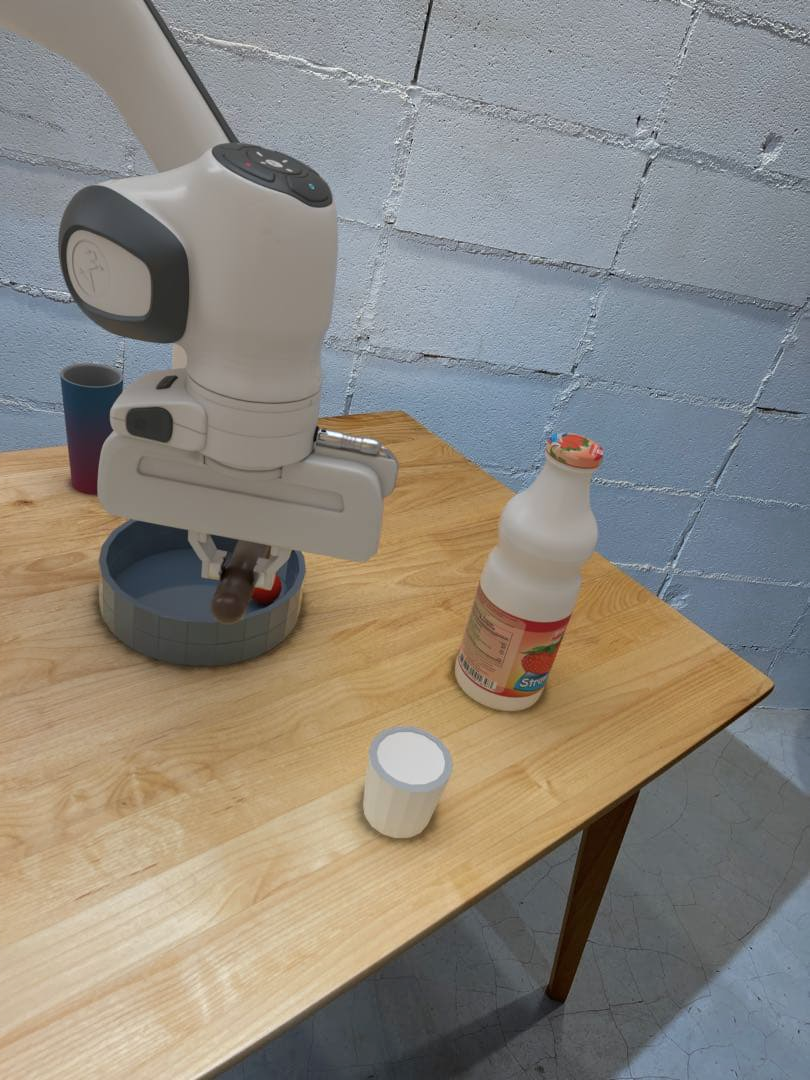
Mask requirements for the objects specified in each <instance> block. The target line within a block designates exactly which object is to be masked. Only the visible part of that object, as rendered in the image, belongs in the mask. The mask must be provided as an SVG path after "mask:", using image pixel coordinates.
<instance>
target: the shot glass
mask: <svg viewBox="0 0 810 1080" xmlns="http://www.w3.org/2000/svg"><path fill="white" fill-rule="evenodd" d="M453 766H454V761H453V759H452V755H451V751H450V749H449V748H448V747H447V746H446V745H445V744H444V742H443V741H442V740H441V738H439V737H437V736H436V735H434V734H432V733H431V732H430V731H428V730H425V729H422V728H419V727H417V726H416V727H415V726H412V725H396V726H393V727H389V728H387V729H384V730H382V731H380V732H379V733H378V734H377V735H376V736H375V737H374V738H373V739H372V741H371V743H370V746H369V749H368V755H367V763H366V773H365V781H364V792H363V801H362V807H363V813H364V817H365V819H366V820H367V822H368V823H369V825H370V826H371V827H372V828H373V829H375V830H376V831H377V832H379V833H380V834H382V835H384V836H387V837H390V838H394V839H410V838H412V837H415V836H417V835H420V834H421V833H422V832H423V830H424V829H425V828H426V827H427V826H428V825H429V822H430V821H431V819H432V816H433V814H434V812H435V810H436V808H437V806H438V803H439V801H441V800H440V799H441V798H442V795H443V793H444V791H445V789H446V786H447V784H448V783H449V780H450V779H451V776H452V771H453Z"/></svg>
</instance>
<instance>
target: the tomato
mask: <svg viewBox="0 0 810 1080" xmlns="http://www.w3.org/2000/svg"><path fill="white" fill-rule="evenodd" d="M281 590H282V584H281V580H280V578H279V577H278V576H277V575H275V580H274V583H273V586H272V589H271V590H266V589H261V588H257V587H255V589H254V591H253V594H252V597H251V598H252V599H253V600H254V601H256V602H258V603H262V604H267V603H271V602H273V601H275V600H276V599H277V598H278V597H279V595H280V593H281Z"/></svg>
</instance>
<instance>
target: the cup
mask: <svg viewBox="0 0 810 1080" xmlns="http://www.w3.org/2000/svg"><path fill="white" fill-rule="evenodd" d="M59 377H60V387H61V395H62V405H63V406H62V407H63V414H64V425H65V432H66V433H65V434H66V441H67V442H66V443H67V453H68V460H69V469H70V470H69V471H70V481H71V486H72V488H73V489H74V490H76V491H77V492H79V493H82V494H86V495H94V496H95V495H98V490H97V486H98V470H99V461H100V455H101V450H102V447H103V444H104V442H105V440H106V439H107V438H108V437H109V435H110V434H111V433H112V432H113V431H114V430H113V429H112V427H111V423H110V410H111V408H112V406H113V404H114V403H115V401H116V400H117V398H118V397H119V396H120V395H121V393H122V392H123V391H124V378H125V375H124V374H123V372H122V371H121V370H119V369H117V368H116V367H113V366H110V365H106V364H102V363H95V362H81V363H80V362H79V363H73V364H70V365H67V366H65V367H63V368H62V369H61V370H60V373H59Z"/></svg>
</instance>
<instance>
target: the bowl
mask: <svg viewBox="0 0 810 1080" xmlns="http://www.w3.org/2000/svg"><path fill="white" fill-rule="evenodd" d="M210 536H211V538H212V540H213V542H214V544H215V546H216V548H217V550H222V551H227V559H226V563H227V564H226V567H227V565H228V563H229V561H230V559H231V556H232V554H233V552H234V548H235V546H236V544H237V542H238V539H233V538H228V537H222V536H217V535H212V534H210ZM201 574H202V560H200V559H199V557H198V555H197V554H196V552H195V551H194V549H193V547H192V546H191V544H190V543H189V541H188V530H186V529H180V528H175V527H170V526H164V525H159V524H154V523H149V522H143V521H138V520H133V519H127V520H126V521H125V522H123V523H122V524H121V525H119V526H117V527H116V528H115V529H114V530H112V531H111V532H110V534H109V535H108V536H107V538H106V539H105V541H104V542H103V543H102V545H101V547H100V553H99V556H98V604H99V609H100V613H101V617H102V620H103V622H104V623H105V625H106V626H107V628H108V630H110V632H111V633H112V634H113V635H114V637H116V638H117V639H118V640H119V641H120V642H122V643H123V644H124V645H126V646H127V647H129V648H130V649H132V650H134V651H136V652H138V653H140V654H142V655H144V656H146V657H149V658H152V659H155V660H158V661H161V662H166V663H170V664H175V665H182V666H191V667H215V666H216V667H217V666H226V665H231V664H236V663H240V662H244V661H247V660H251V659H254V658H257V657H260V656H261V655H263V654H266V653H268V652H270V651H271V650H272V649H275V648H276V647H277V646H279V645H280V644H281V643H283V642H284V640H286V638H288V636H289V635H290V634H291V632H292V631H293V630H294V628H295V627H296V624H297V623H298V620H299V619H298V618H299V616H300V614H301V613H300V612H301V607H302V602H303V601H302V600H303V594H304V589H305V582H306V574H307V568H306V561H305V555H304V554H303V552H302V551H296V550H292V551H291V554H290V557H289V559H288V560H287V561H286V562H285V563H284V564H283V565H282V566H281V567H280V568H279V569H278V570H277V571H276V575H277V576H278V577H279V578H280V580H281V584H282V590H281V593H280V595H279V597H278V598H277V599H276V600H275V601H273V602H271V603H267V604H262V603H258V602H256V601H254V600H253V599H252V598H251V599H250V602H249V604H248V607H247V610H246V612H245V614H244V616H243V618H242V619H241V620H240V621H238V622H236V623H234V624H222V623H220V622H218V621H217V620H216V619H215V618H214V617H213V615H212V613H211V609H210V605H211V601H212V598H213V596H214V594H215V592H216V590H217V587H218V585H219V583H220V581H218V580H213V579H208V578H202V576H201Z"/></svg>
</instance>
